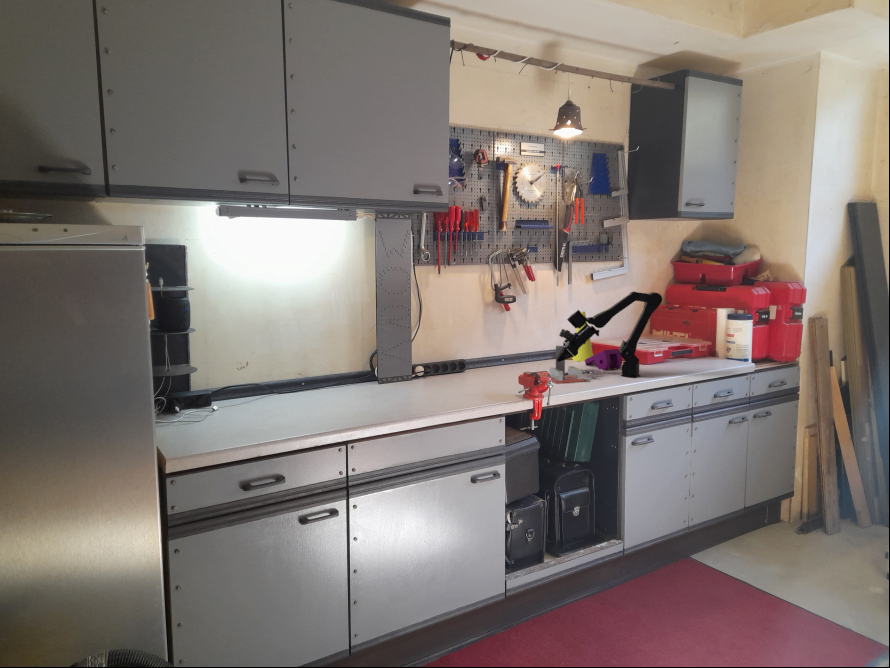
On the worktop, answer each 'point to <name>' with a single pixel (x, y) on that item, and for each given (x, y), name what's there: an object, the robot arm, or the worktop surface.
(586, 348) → the cone
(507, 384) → the worktop surface
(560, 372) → the bench vise
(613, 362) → the mounting bracket
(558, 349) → the steel bar
